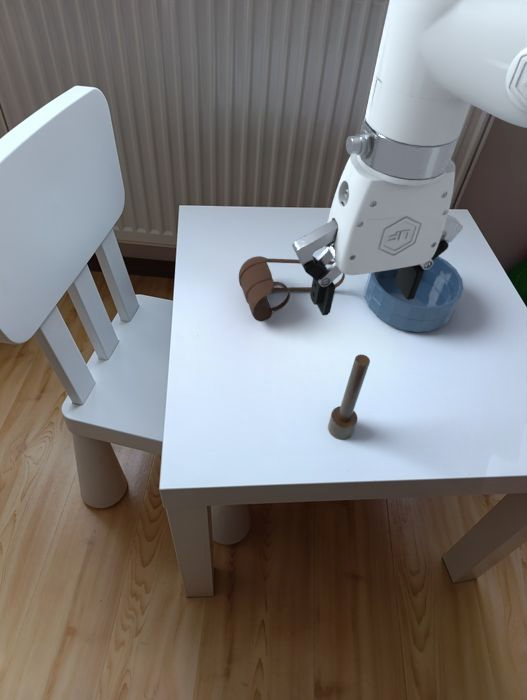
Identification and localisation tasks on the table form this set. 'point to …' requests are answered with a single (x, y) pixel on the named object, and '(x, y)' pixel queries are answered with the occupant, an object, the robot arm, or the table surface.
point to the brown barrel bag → (265, 285)
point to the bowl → (416, 298)
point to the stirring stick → (349, 401)
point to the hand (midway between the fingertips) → (362, 298)
